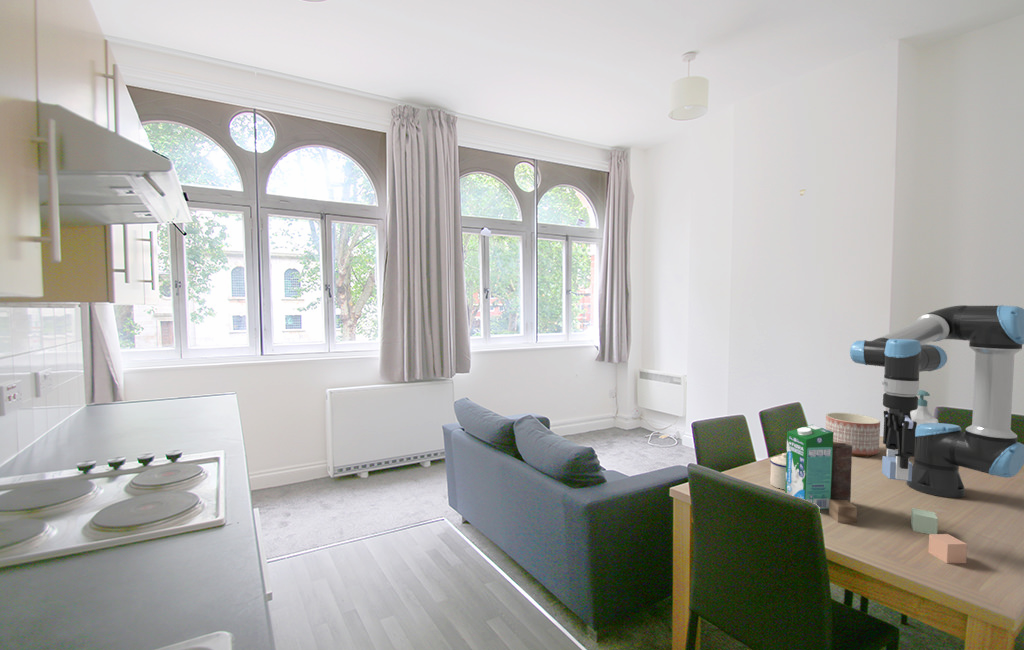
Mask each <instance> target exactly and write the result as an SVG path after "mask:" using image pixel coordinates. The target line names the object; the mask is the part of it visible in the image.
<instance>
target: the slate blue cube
mask: <svg viewBox="0 0 1024 650" xmlns="http://www.w3.org/2000/svg"><path fill="white" fill-rule="evenodd" d="M881 461H882V462H881V464H882V465H881V474H883V476H885V477H886V478H888V479H889V480H895V481H904V482H905V481H912V466H913V463H912V462H911V461H909V474H908V480H901V479H896V478H895V469H896V457H889V456H887V455H886V456H885V455H882V459H881Z"/></svg>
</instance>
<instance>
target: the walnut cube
mask: <svg viewBox="0 0 1024 650" xmlns="http://www.w3.org/2000/svg"><path fill="white" fill-rule="evenodd" d="M857 512H858V507H857V506H855V505H854V504H853V503H852V502H851V501H850V502H849V501H848V500H834V499H830V500H829V509H828V515H829V517H831V518H832V519H833V520H834V521H835V522H837V523H838V524H839V523H843V524H856V525H857Z"/></svg>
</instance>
